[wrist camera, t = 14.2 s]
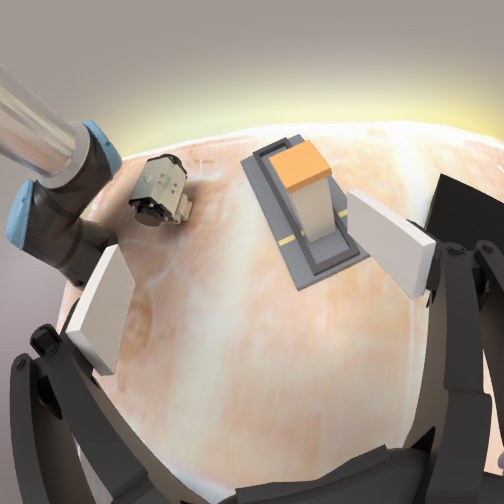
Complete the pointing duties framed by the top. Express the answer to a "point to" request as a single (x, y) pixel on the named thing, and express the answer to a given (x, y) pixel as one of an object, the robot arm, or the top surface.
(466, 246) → the box
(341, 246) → the slider console
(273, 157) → the fader knob
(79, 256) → the robot arm
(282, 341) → the top surface
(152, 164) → the pneumatic valve
